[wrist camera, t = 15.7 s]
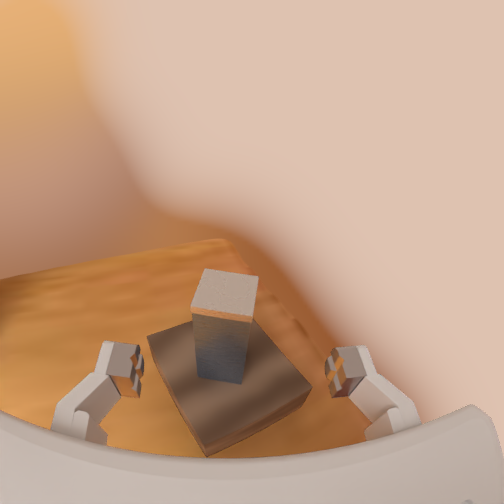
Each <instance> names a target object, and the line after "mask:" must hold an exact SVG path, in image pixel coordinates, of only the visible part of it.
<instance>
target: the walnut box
mask: <svg viewBox="0 0 504 504" xmlns="http://www.w3.org/2000/svg"><path fill="white" fill-rule="evenodd" d="M147 339H148V343H149V346H150V350H151V353H152V356H153V360H154V362H155V364H156V366H157V368H158V370H159V373H160V375H161V377H162V379H163V381H164V383H165V385H166V387H167V389H168V391H169V393H170V395H171V397H172V399H173V400H174V402H175V404H176V406H177V408H178V410H179V412H180V414H181V415H182V417H183V419H184V421H185V422H186V424H187V426H188V428H189V429H190V431H191V433H192V435H193V436H194V438H195V440H196V441H197V443H198V445H199V446H200V448H201V449H202V451H203V453H204V454H205V456H206V457H208V456H210V455H212V454H215V453H217V452H219V451H221V450H223V449H225V448H228V447H230V446H232V445H234V444H236V443H238V442H240V441H242V440H244V439H246V438H248V437H250V436H251V435H253V434H255V433H257V432H259V431H261V430H263V429H264V428H266V427H268V426H270V425H272V424H273V423H275V422H277V421H278V420H280V419H282V418H284V417H285V416H287V415H289V414H290V413H292V412H293V411H295V410H297V409H298V408H300V407H301V406H302V405H303V403H304V401H305V400H306V398H307V396H308V394H309V393H310V391H311V389H312V386H311V385H310V383H309V382H308V381H307V380H306V379H305V378H304V377H303V376H302V375H301V373H300V372H299V371H298V370H297V369H296V368H295V367H294V366H293V364H292V363H291V362H290V361H289V360H288V359H287V358H286V356H285V355H284V354H283V353H282V352H281V351H280V350H279V348H278V347H277V346H276V345H275V344H274V343H273V342H272V340H271V339H270V338H269V337H268V336H267V335H266V333H265V332H264V331H263V330H262V329H261V327H260V326H259V325H258V324H257V323H256V322H255V320H254V319H253V318H252V323H251V326H250V333H249V339H248V346H247V353H246V359H245V365H244V371H243V378H242V384H234V383H228V382H222V381H217V380H211V379H206V378H201V377H198V375H197V365H196V355H195V343H194V331H193V321H190V322H187V323H184V324H181V325H178V326H175V327H173V328H170V329H167V330H164V331H161V332H158V333H155V334H152V335H149V336H147Z"/></svg>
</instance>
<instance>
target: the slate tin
mask: <svg viewBox="0 0 504 504" xmlns="http://www.w3.org/2000/svg"><path fill="white" fill-rule="evenodd" d="M258 278H259V277H258V276H252V275H245V274H238V273H231V272H225V271H218V270H212V269H206V268H205V270H204V272H203V275H202V277H201V280H200V282H199V285H198V287H197V290H196V292H195V295H194V298H193V300H192V303H191V305H190V310H191V313H192V317H193V331H194V343H195V355H196V365H197V375H198V377H201V378H206V379H211V380H217V381H222V382H228V383H234V384H242V378H243V371H244V365H245V359H246V353H247V346H248V339H249V333H250V326H251V323H252V318H253V312H254V305H255V298H256V292H257V285H258Z"/></svg>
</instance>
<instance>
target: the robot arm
mask: <svg viewBox="0 0 504 504" xmlns="http://www.w3.org/2000/svg"><path fill="white" fill-rule="evenodd" d="M140 350H141V349H140V347H139V345H136V344H127V343H120V342H113V341H106V340H105V341H104V342H103V344H102V346H101V350H100V353H99V357H98V360H97V364H96V367H95V371H94V373H93V372H91V373H90V374H89V375H87V376H86V377H85V378H84V379H83V380H82V381H81V382H80V383H79V384H78V385H77V386H75V387H74V388H73V389H72V390H71V391H70V392H69V393H68V394H67V395H66V396H65V397H63V398H62V399H61V400H60V401H59V402H58V403H57V405H56V409H55V413H54V417H53V421H52V425H51V430H49V429H46V428H43V427H40V426H37V425H35V424H32V423H29V422H27V421H24V420H22V419H20V418H17V417H15V416H13V415H10V414H8V413H6V412H4V411H2V410H0V504H504V458H503V454H502V450H501V446H500V442H499V439H498V435H497V432H496V429H495V426H494V424H493V422H492V420H491V418H490V417H489V416H488V415H487V414H486V413H485V412H483V411H482V410H481V409H479V408H478V407H476V406H475V405H467V406H465V407H463V408H461V409H458V410H456V411H454V412H452V413H450V414H447V415H445V416H442V417H440V418H438V419H435V420H432V421H430V422H427V423H424V424H421V421H420V418H419V415H418V413H417V410H416V407H415V405H414V402H413V401H412V400H411V399H409V398H408V397H407V396H406V395H405V394H403V393H402V392H401V391H400V390H399V389H397V388H396V387H395V386H394V385H393V384H391V383H390V382H389V381H388V380H387V379H386V378H384V377H383V376H382V375H381V374H377V372H376V369H375V366H374V364H373V362H372V359H371V356H370V354H369V351H368V349H367V347H366V346H365V345H360V346H348V347H338V348H334V349H332V351H331V355H332V356H330V357H328V358H327V360H326V362H325V374H326V378H328V379H329V380H330V384H329V389H330V393H331V397H332V398H337V397H345V396H349V398H350V399H351V401H352V402H353V403H354V404H355V405H356V406H357V407H358V408H359V409H360V410H361V411H362V413H363V414H364V415H365V416H366V417H367V418H368V419H369V420H370V421H371V422H372V424H371V425H370V426H368V427H367V428H366V429H365V431H364V434H365V438H366V441H365V442H361V443H357V444H352V445H348V446H343V447H338V448H333V449H327V450H321V451H315V452H308V453H301V454H292V455H283V456H271V457H255V458H197V457H181V456H170V455H160V454H152V453H145V452H138V451H132V450H126V449H121V448H116V447H111V446H106V444H107V436H108V435H107V433H106V432H105V431H104V430H103V429H102V428H101V427H100V426H99V425H98V424H99V423H100V422H101V421H102V419H103V418H104V417H105V416H106V415H107V413H108V412H109V411H110V410H111V409H112V407H113V406H114V405H115V404H116V403H117V401H118V400H119V399H120V398H121V396H125V397H134V398H140V391H141V382H140V380H139V379H140V378H141V377H142V376H143V372H144V359H143V356H142V355H141V354H140Z"/></svg>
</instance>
